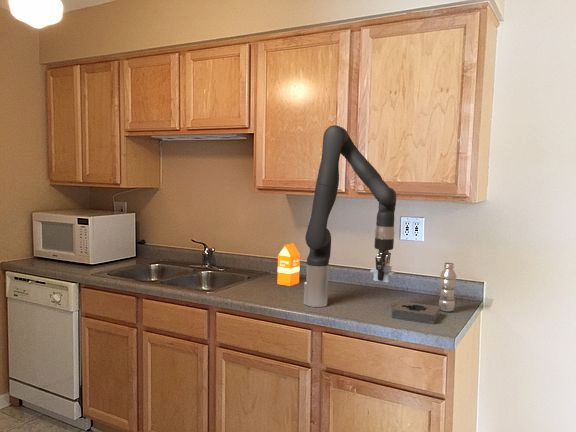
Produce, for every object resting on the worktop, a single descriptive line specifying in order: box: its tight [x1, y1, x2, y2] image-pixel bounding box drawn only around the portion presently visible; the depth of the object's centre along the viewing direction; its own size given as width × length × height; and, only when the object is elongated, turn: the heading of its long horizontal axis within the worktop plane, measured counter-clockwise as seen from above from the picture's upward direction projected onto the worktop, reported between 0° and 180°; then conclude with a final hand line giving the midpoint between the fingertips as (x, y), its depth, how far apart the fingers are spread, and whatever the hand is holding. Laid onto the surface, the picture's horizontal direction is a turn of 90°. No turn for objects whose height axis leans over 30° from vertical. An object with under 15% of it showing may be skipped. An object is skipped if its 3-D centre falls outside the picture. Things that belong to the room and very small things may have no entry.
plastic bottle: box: [438, 262, 457, 312], centre depth 202 cm, size 6×7×20 cm
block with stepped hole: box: [391, 301, 442, 325], centre depth 194 cm, size 16×14×4 cm
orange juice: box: [276, 242, 301, 287], centre depth 247 cm, size 8×9×20 cm
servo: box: [369, 263, 396, 283], centre depth 198 cm, size 9×4×7 cm, turn 63°
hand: (382, 278), depth 198 cm, fingers closed on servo, 4 cm apart
